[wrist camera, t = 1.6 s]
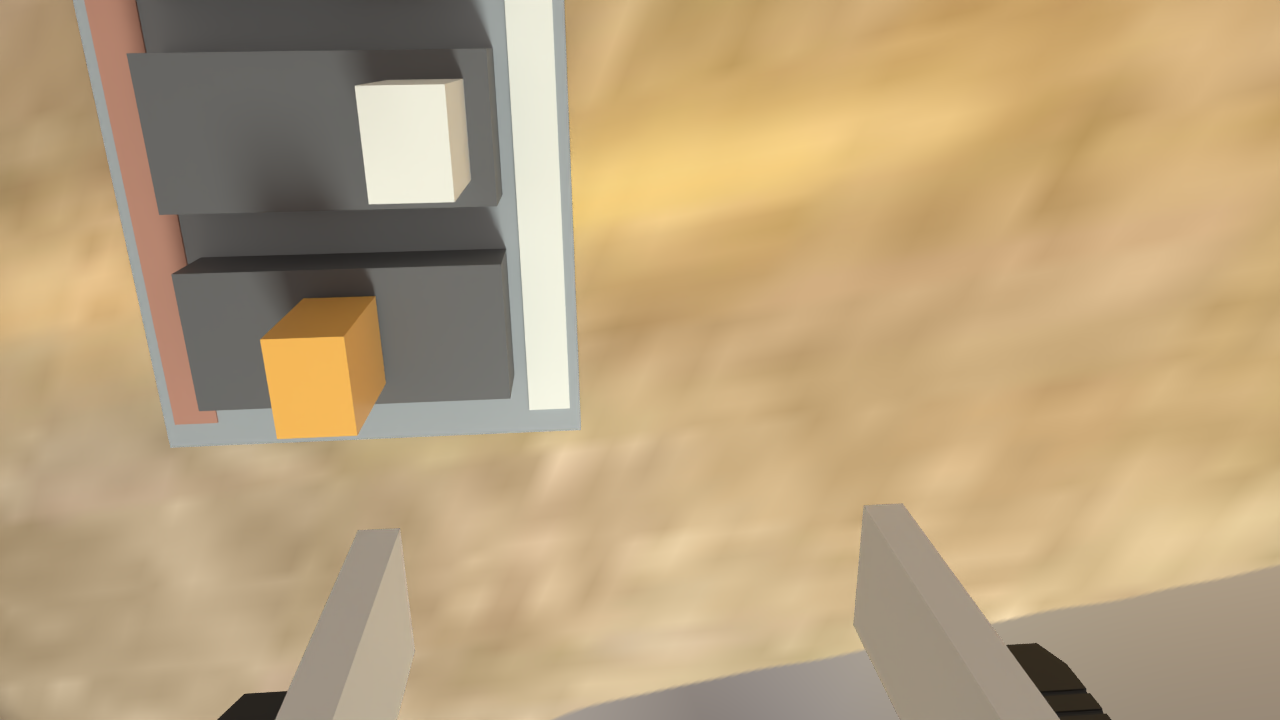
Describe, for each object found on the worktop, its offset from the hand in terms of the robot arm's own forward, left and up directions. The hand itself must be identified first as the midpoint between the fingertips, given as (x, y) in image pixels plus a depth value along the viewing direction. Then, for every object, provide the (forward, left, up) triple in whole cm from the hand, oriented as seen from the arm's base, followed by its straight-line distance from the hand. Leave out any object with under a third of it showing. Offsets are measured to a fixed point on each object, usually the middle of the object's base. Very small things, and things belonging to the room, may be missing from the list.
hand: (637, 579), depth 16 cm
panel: (-9, +7, -19) cm, 22 cm away
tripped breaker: (-9, 0, -15) cm, 18 cm away
